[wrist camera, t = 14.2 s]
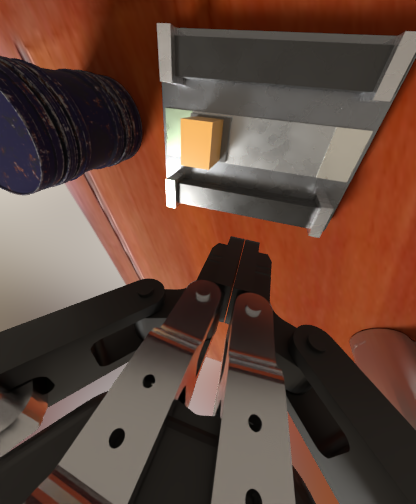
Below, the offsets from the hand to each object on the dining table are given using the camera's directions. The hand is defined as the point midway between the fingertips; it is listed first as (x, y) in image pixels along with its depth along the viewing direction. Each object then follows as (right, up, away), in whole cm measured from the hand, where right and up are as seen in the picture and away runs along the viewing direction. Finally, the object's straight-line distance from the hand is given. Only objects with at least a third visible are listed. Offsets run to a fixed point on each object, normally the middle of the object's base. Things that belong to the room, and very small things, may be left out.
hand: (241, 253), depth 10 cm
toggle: (-2, +13, +12) cm, 18 cm away
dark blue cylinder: (-15, +18, +16) cm, 29 cm away
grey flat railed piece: (+4, +13, +13) cm, 19 cm away
